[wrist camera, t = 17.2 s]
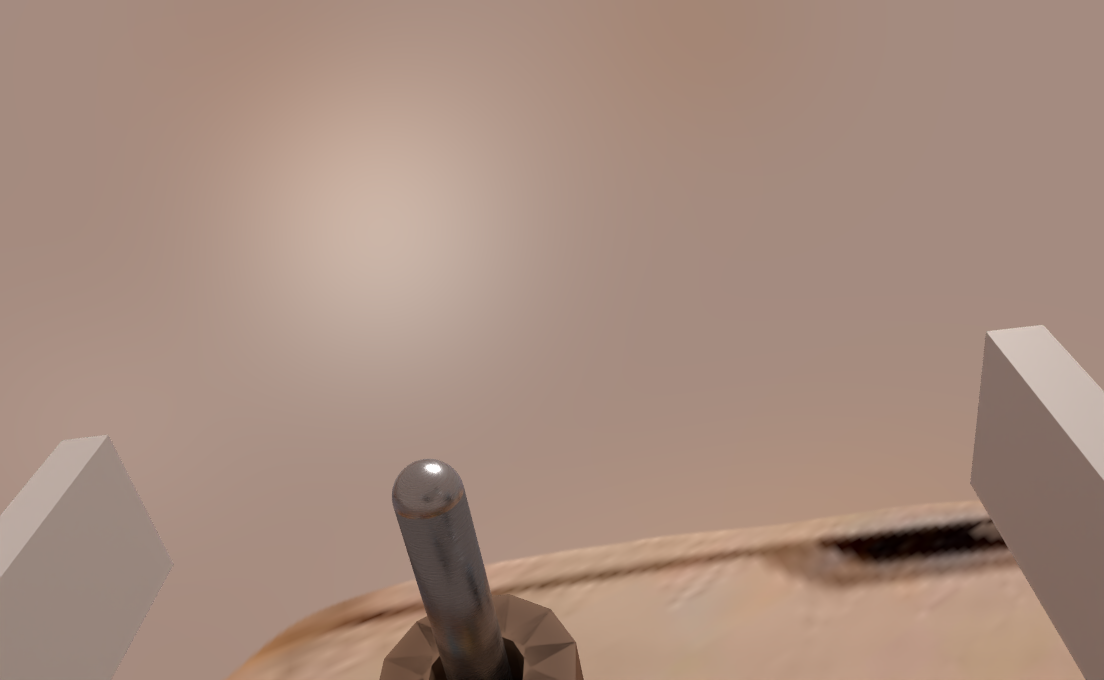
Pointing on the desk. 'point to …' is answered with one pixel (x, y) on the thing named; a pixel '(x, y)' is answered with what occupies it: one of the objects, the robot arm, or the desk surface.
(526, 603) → the bead
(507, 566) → the desk surface
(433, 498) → the round-tipped metal rod
